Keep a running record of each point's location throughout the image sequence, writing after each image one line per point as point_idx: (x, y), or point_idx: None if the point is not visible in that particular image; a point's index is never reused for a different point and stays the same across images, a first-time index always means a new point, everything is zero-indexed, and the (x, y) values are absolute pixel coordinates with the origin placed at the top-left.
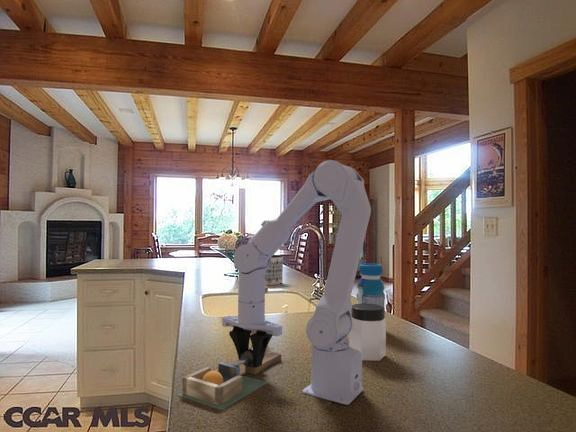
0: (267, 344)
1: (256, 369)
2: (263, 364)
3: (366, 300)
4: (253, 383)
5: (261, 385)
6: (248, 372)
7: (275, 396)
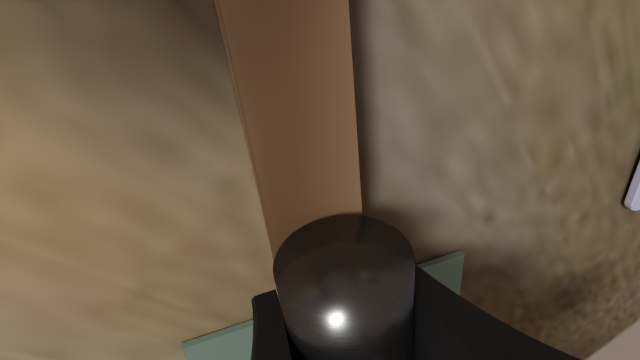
0: (541, 348)
1: None
2: (357, 192)
3: None
4: None
5: (457, 290)
6: None
7: (534, 285)
